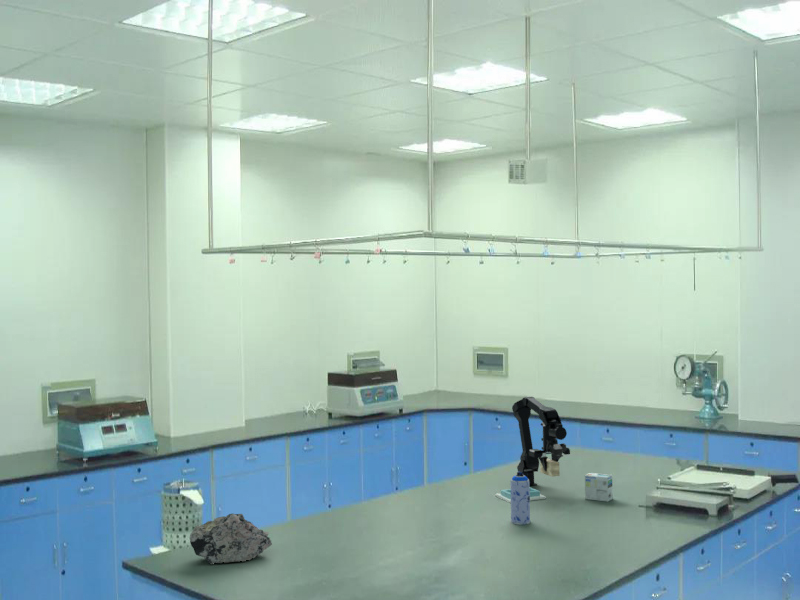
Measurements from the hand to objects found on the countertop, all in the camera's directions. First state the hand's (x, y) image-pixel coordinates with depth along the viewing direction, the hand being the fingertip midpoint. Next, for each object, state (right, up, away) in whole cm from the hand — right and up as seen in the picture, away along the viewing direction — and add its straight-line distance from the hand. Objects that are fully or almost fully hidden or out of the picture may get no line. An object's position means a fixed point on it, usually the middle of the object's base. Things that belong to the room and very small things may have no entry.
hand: (549, 470), depth 380 cm
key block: (0, -2, 0) cm, 2 cm away
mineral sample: (-128, -13, -88) cm, 156 cm away
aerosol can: (-20, -11, -47) cm, 53 cm away
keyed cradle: (-14, -11, -7) cm, 19 cm away
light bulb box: (+20, -10, -12) cm, 25 cm away
